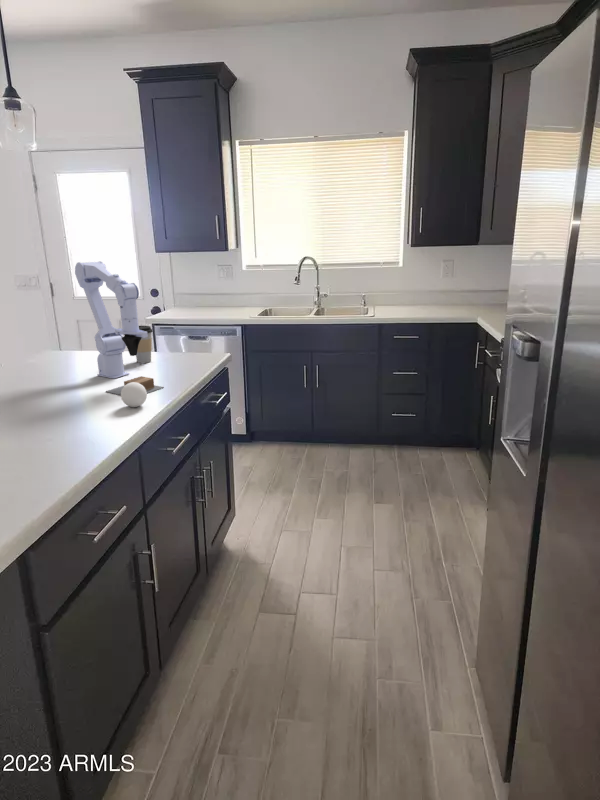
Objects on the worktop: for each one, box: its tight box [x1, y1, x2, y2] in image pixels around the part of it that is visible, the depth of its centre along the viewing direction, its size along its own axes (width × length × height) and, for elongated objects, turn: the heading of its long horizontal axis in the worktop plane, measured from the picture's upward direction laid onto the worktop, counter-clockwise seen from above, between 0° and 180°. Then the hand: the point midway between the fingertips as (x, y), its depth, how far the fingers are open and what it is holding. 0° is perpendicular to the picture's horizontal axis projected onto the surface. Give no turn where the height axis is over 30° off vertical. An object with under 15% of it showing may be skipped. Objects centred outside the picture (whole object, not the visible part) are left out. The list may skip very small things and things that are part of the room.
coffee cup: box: [135, 325, 153, 364], centre depth 223 cm, size 9×9×15 cm
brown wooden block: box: [123, 376, 155, 391], centre depth 184 cm, size 4×8×6 cm
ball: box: [120, 382, 148, 408], centre depth 167 cm, size 8×8×8 cm
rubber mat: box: [105, 384, 165, 396], centre depth 185 cm, size 14×14×1 cm
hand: (133, 355), depth 191 cm, fingers closed
